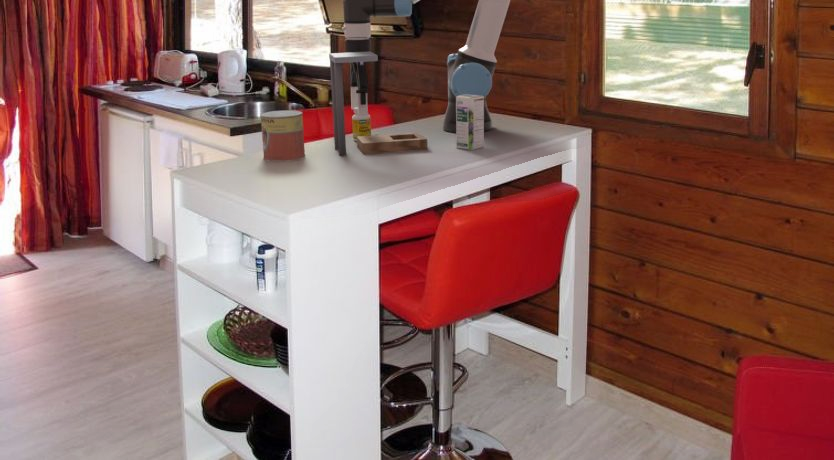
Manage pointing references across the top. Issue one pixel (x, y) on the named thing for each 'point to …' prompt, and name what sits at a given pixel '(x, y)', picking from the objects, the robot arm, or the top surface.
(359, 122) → the supplement bottle
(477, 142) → the syrup box
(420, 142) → the socket block
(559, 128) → the top surface
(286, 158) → the canned food
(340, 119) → the grey l-shaped post
